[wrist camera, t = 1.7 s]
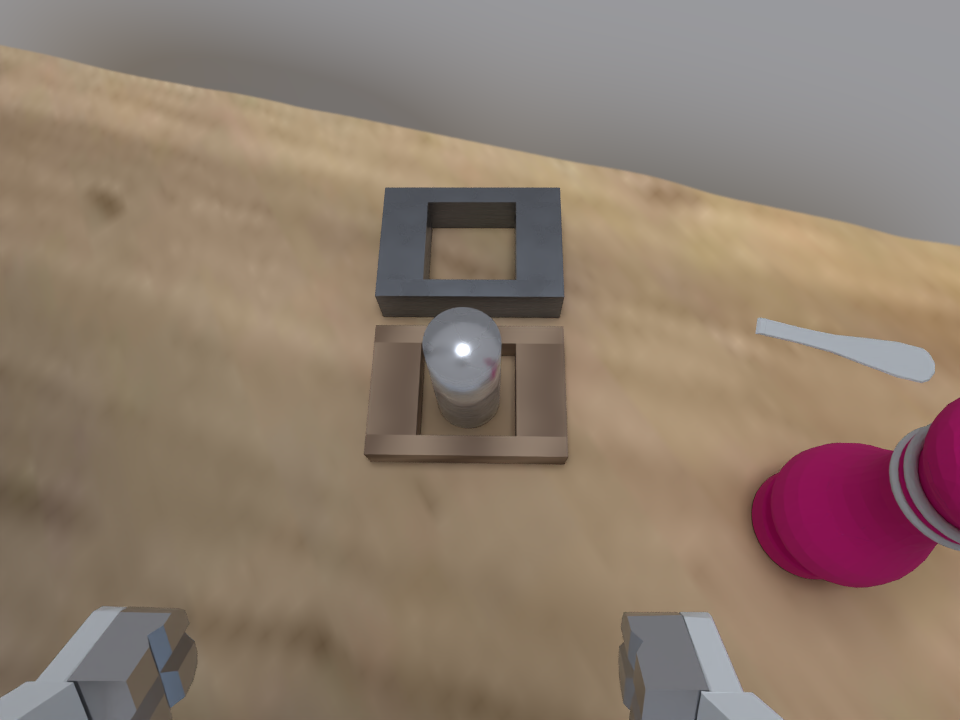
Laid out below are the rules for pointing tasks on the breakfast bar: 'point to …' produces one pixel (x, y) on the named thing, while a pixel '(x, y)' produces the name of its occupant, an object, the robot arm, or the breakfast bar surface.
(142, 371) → the breakfast bar surface
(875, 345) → the butter knife
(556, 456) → the wooden picture frame
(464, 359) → the steel axle
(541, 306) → the socket block
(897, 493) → the pepper mill
